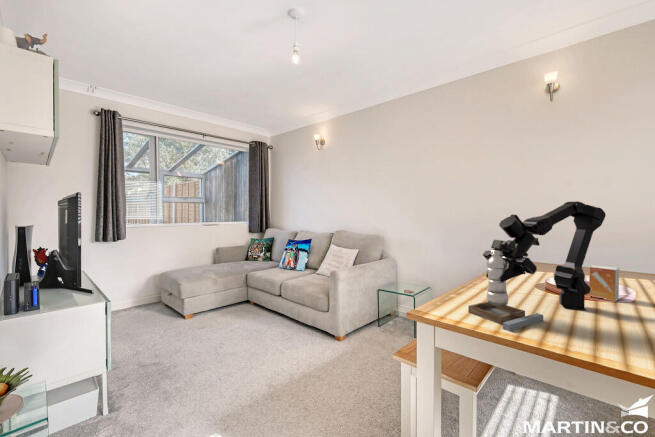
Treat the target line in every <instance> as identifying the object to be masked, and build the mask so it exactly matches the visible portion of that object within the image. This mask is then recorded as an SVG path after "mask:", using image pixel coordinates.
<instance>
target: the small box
mask: <svg viewBox="0 0 655 437" xmlns="http://www.w3.org/2000/svg"><path fill="white" fill-rule="evenodd" d="M588 276H589V278H588V280H589V281H588V286H589V287H590V288H591V289H590V293H589V294H591V295H595V296H599V297H603V298H606V299H610V300H609V302H614V303H616V302H617V300H616V299H617V298H618V297H619V295H620V288H619V287H620V268H619V267H614V266H612V267H611V266H606V265H605V266H604V265H596V264H593V265H591V266H589V274H588ZM589 294H588V295H589ZM619 298H620V297H619ZM619 298H618V299H619Z"/></svg>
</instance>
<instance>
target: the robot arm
mask: <svg viewBox="0 0 655 437" xmlns="http://www.w3.org/2000/svg"><path fill="white" fill-rule="evenodd" d="M569 217H573V223H574V225H575V232H574V234H573V236H572V237H573V238H572V241H571V244H570V246H569V249H568V252H567V256H566V259H565V262H564V263H563V264H562V265H556V266H555V271H554V273H553V275H554V276H553V281H554V283H555V286H556V289H558V290H561V291H560V292H559V294H558V295H559V300H558V301H559V303H558V304H559V305H561V306H562V307H563V308H564V309H568V310H577V311H587V308H586V307H585V297H586V296H588V295H589V293H590V289H591V288H590V287H589V284H587V283H586V280H585V277H586V275H585V272H584V269H583V265H584V261H585V259H586V256H587V252H588V250H589V246H590V243H591V240H592V237H593V234H594V232H595V231H596V230H597V229H599V228H600V227H601V226H602V225H603V223H604V221H605V219H606V212H605V210H603V209H602V208H601V207H596V206H593V205H589V204H585V203H584V202H580V201H567V202H564V203H563V204H561V205H560V206H558V207H556V208H554V209H553V210H551V211H548V212H547V213H544V214H542V215H539V216H533V217H530V218H526V219H525V220H523V221H522V220H521V218H519V216H518V215H517V214H511V215H509V216H507V217H505V218H503V219H502V220H501V221H500V222H499V224H498V226H499V227H500V228H501V230H503V231H504V233H505V234H506V235H507V236H508V237H509V238H512V239H513V240H512V239H511V240H510V239H507V241H506V240H501V239H493V241H492V244H491V246H490V248H491V249H499V250H503V256H502V257H503V258H504V259H505V261H506V262H507V265H508V268H507V270H506V271H505V273H504V274H503V275H502V277H501V279H500V281H501V282H504V281H506V282H507V281H508V280H512V279H514V278H516V277H519V276H522V275H526V274H529V275H535V273H536V272H537V270H538V268H537V267H538V266H537V265H536V264H535V263H534V262H533V261H532V260H531V259H530V258H529V257H528V256H529V254H528V252H529V250H530V249H531V248H532V246H540V245H541V244H540V242H539V238H538V237H535V236H545V235H546V234H548V233H549V232H550V231H551V230H552V229H553V227H554V225H556V224H557V223H560V222H561V221H564V220H565V219H567V218H569ZM534 235H535V236H534ZM482 256H483V257H484V259H485V260H486V261H488V260H489V258H490V257H491V256H492V255H491V250H485V251H484V252H483V253H482ZM485 277H486V278H487V279H488V272H487V271H486V275H485Z"/></svg>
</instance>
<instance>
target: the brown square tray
mask: <svg viewBox="0 0 655 437" xmlns="http://www.w3.org/2000/svg"><path fill="white" fill-rule="evenodd" d="M467 307H468V313H470V314H473V315H474V316H477V317H481V318H482V319H485V320H489V321H491V322H493V323H496V324H499V325H503V322H507V321H510V320H514V319H518V318H521V317H525V316H526V310H523V309H520V308H517V307H513V306H510V305H508V304H507V305H506V306H495V305H491V304H489V302H488V301H487V300H486V301H484V302H480V303H473V304H470V305H468V306H467Z"/></svg>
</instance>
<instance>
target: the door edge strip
mask: <svg viewBox="0 0 655 437" xmlns="http://www.w3.org/2000/svg"><path fill="white" fill-rule="evenodd" d="M543 321H544V314H541V313H538V312H535V313H533V314H528V315H525V317H521V318H518V319H514V320H510V321H507V322H503V324H502V330H505V331H508V332H511V331H513V330H517V329H521V328H524V327H527V326H530V325H534V324H537V323H540V322H543Z"/></svg>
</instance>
